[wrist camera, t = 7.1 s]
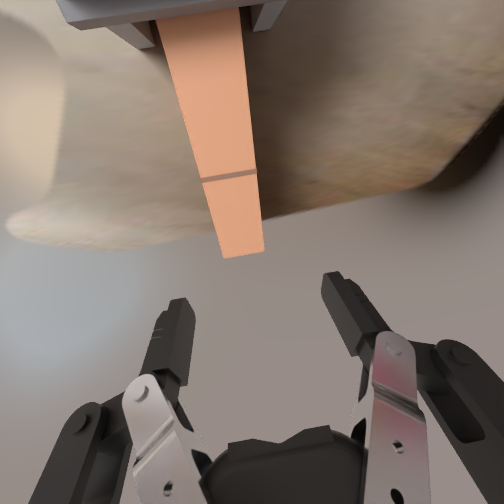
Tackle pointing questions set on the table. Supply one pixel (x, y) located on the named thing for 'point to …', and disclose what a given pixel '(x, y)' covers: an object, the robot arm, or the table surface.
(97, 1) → the block
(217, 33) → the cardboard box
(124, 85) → the table surface
